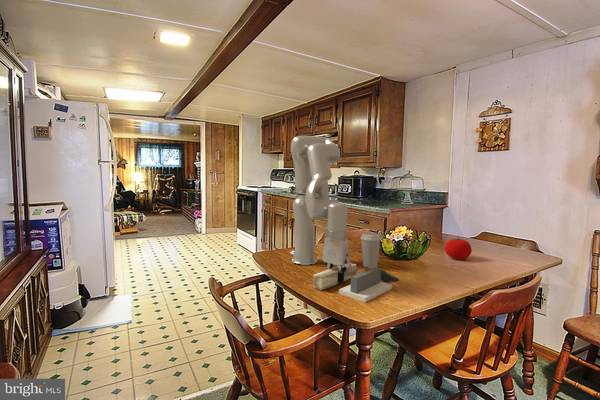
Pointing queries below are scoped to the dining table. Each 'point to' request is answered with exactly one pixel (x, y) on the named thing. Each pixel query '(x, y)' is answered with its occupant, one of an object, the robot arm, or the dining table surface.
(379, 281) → the ridge stand
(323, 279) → the beam
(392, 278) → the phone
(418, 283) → the dining table surface
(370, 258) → the coffee cup
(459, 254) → the tomato
